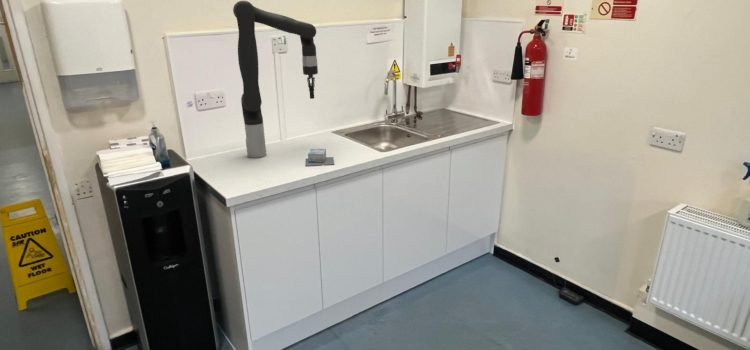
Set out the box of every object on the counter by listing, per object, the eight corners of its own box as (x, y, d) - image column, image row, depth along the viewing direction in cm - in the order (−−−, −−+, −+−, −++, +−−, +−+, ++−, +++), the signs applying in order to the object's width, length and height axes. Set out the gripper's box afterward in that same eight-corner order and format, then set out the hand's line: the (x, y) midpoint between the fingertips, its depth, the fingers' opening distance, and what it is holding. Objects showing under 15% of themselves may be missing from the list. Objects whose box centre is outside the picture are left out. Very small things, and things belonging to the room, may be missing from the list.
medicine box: (325, 148, 234) (323, 153, 226) (326, 157, 235) (324, 162, 227) (310, 148, 234) (307, 154, 226) (310, 157, 236) (308, 162, 227)
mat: (305, 166, 223) (305, 165, 223) (305, 159, 234) (305, 158, 233) (334, 164, 225) (334, 164, 225) (333, 157, 235) (333, 156, 235)
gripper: (302, 63, 242) (305, 96, 248) (302, 66, 229) (304, 101, 235) (317, 62, 242) (319, 95, 249) (317, 66, 230) (319, 100, 236)
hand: (312, 98), depth 242 cm, fingers closed
